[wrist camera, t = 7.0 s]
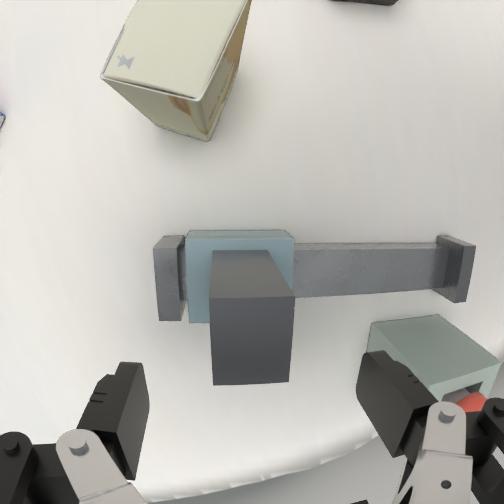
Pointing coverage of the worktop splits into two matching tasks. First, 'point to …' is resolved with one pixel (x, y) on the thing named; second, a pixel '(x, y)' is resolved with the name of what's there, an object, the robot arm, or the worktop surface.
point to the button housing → (436, 354)
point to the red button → (466, 399)
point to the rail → (339, 270)
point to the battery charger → (378, 1)
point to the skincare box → (179, 61)
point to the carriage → (243, 301)
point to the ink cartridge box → (1, 118)
